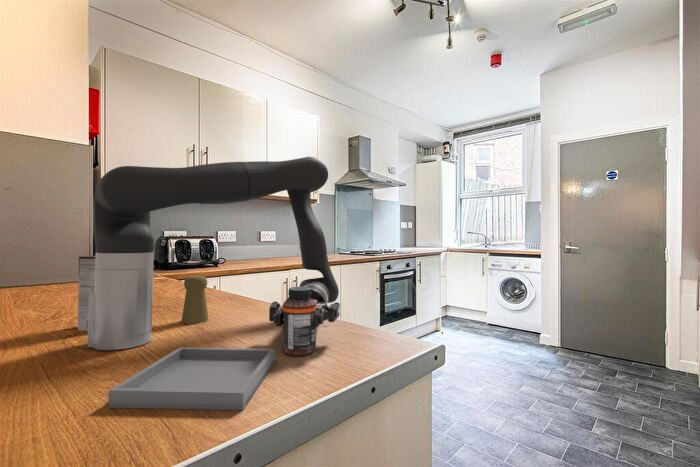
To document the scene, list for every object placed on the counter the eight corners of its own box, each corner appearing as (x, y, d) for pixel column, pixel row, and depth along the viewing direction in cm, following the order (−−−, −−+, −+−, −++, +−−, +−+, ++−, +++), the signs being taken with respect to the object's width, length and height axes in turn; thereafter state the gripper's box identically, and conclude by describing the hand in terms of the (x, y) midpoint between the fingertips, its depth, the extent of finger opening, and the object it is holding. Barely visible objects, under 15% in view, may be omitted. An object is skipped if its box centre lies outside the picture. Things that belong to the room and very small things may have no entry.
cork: (201, 324, 79) (202, 277, 79) (176, 324, 79) (177, 276, 79) (212, 318, 85) (213, 274, 85) (188, 318, 85) (189, 274, 85)
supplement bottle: (284, 346, 63) (285, 285, 63) (316, 345, 63) (316, 285, 64) (280, 357, 57) (281, 290, 57) (315, 356, 58) (316, 290, 58)
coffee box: (113, 320, 81) (115, 254, 82) (136, 322, 80) (138, 254, 80) (76, 330, 72) (78, 255, 73) (100, 332, 71) (102, 256, 71)
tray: (108, 407, 40) (108, 390, 40) (179, 359, 56) (179, 347, 56) (243, 410, 39) (243, 393, 39) (275, 361, 55) (276, 348, 55)
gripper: (278, 284, 75) (256, 298, 58) (343, 285, 75) (339, 299, 58) (277, 318, 75) (255, 341, 58) (342, 319, 74) (338, 343, 58)
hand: (297, 320), depth 58 cm, fingers closed on supplement bottle, 6 cm apart
